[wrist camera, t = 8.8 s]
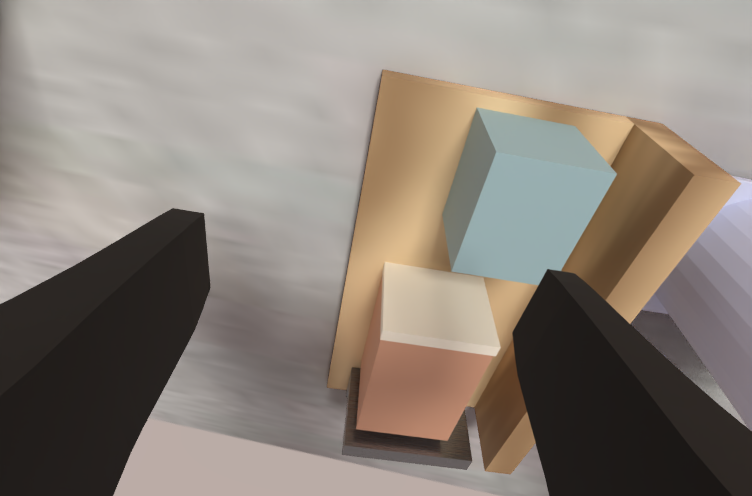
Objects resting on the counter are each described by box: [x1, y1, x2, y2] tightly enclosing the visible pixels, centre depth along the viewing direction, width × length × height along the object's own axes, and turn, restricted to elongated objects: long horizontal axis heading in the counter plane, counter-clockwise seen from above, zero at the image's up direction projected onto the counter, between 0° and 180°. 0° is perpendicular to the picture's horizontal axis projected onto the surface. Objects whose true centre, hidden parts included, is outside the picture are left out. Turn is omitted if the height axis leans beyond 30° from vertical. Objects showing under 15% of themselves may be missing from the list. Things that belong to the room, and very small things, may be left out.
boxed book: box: [356, 262, 501, 441], centre depth 22 cm, size 5×8×4 cm, turn 170°
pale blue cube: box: [442, 108, 617, 285], centre depth 17 cm, size 4×5×4 cm
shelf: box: [327, 70, 741, 474], centre depth 21 cm, size 12×20×5 cm, turn 170°
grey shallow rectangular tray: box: [342, 367, 472, 470], centre depth 26 cm, size 7×2×5 cm, turn 80°
